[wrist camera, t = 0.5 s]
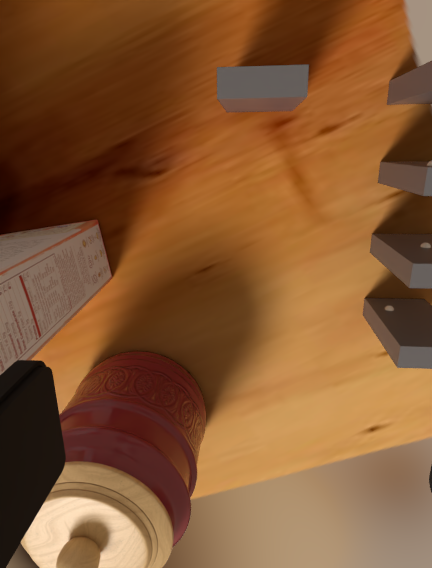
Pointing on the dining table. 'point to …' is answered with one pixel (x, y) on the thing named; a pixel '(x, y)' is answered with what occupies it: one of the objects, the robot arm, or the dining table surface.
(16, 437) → the robot arm
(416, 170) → the domino
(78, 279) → the cracker box
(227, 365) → the dining table surface
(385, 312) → the domino
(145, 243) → the dining table surface
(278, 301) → the dining table surface
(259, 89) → the domino
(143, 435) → the canister
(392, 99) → the domino
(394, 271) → the domino
